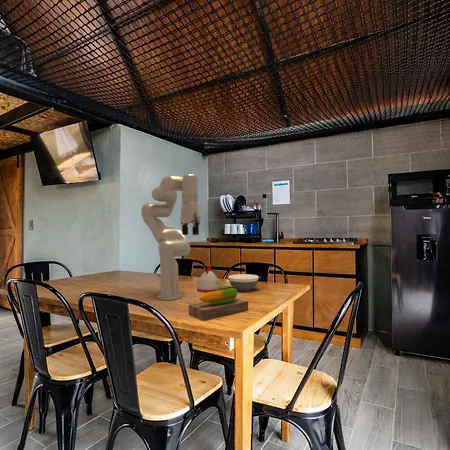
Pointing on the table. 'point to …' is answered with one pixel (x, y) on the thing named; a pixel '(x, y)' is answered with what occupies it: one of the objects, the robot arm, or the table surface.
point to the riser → (217, 309)
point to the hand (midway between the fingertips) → (190, 234)
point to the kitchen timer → (207, 281)
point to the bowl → (243, 281)
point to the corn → (220, 295)
